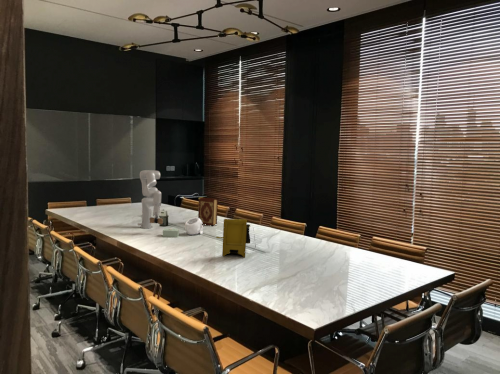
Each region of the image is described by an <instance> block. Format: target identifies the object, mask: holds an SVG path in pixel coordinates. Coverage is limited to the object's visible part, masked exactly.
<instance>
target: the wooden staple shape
mask: <svg viewBox="0 0 500 374" xmlns="http://www.w3.org/2000/svg"><path fill="white" fill-rule="evenodd" d="M154 219H155V217H152V216H151V217H150V219H149V220H150V223H151V224H155V223H154ZM163 221H164V219H163V218H161V217H160V218H159V217H158V223H157V224H158V225H163Z"/></svg>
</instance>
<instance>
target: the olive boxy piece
mask: <svg viewBox="0 0 500 374" xmlns="http://www.w3.org/2000/svg"><path fill="white" fill-rule="evenodd" d="M248 223H250V221H249V222H248V220H247V219H240V218H239V219H237V218H224V219H223V227H222V228H223V229H222V230H223V231H222V232H223V233H222V236H216V239H222V251H221V252H222V254H221V257H222V256H224V257H225V256H226V255H227V254H237V255H241V256H242V258H246V250H247V249H246V247H247V245H248V244H251V236H250V227H251V224H248ZM252 228H253V231H254V228H255V227H252ZM255 237H256V236H255V235H253V238H254V240H256V239H255ZM254 246H255V247H254V249H253V250H255V248H256V244H254ZM247 254H248V255H249V254H250V253H248V252H247Z"/></svg>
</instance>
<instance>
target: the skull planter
mask: <svg viewBox="0 0 500 374" xmlns="http://www.w3.org/2000/svg"><path fill="white" fill-rule="evenodd" d="M202 224H203V223H202V221H201V220H200V218H198V216H196V217H191V218H189V219H188V220H186V221H185V224H184V231H185V232H186V234H187V235H192V236H195V235H198V234H199V235H203V233H204V231H203V230H204V229H203V228H204V225H202Z"/></svg>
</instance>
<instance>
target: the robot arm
mask: <svg viewBox="0 0 500 374" xmlns="http://www.w3.org/2000/svg"><path fill="white" fill-rule="evenodd" d="M160 178H161V172H160V171H159V170H153V169H149V170H148V169H145V170H141V171H140V172H139V180H140V182H141V188H142V189H141V192H142V196H144V197H143V198H142V199H141V212H142V213H141V223H139V222H138V223H137V226H140V229H153V225H152V223H150V220H149V219H150V217H152V216H153V217H154V218H155V219H154V223H153V224H158V218H159V216H160V208H161V207H162V192H161V191H160V190H158V188H157V187H155V186H156V185H157V183H158V182H157V180H160ZM150 207H153V210H152V208H150ZM152 211H153V212H152Z"/></svg>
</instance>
